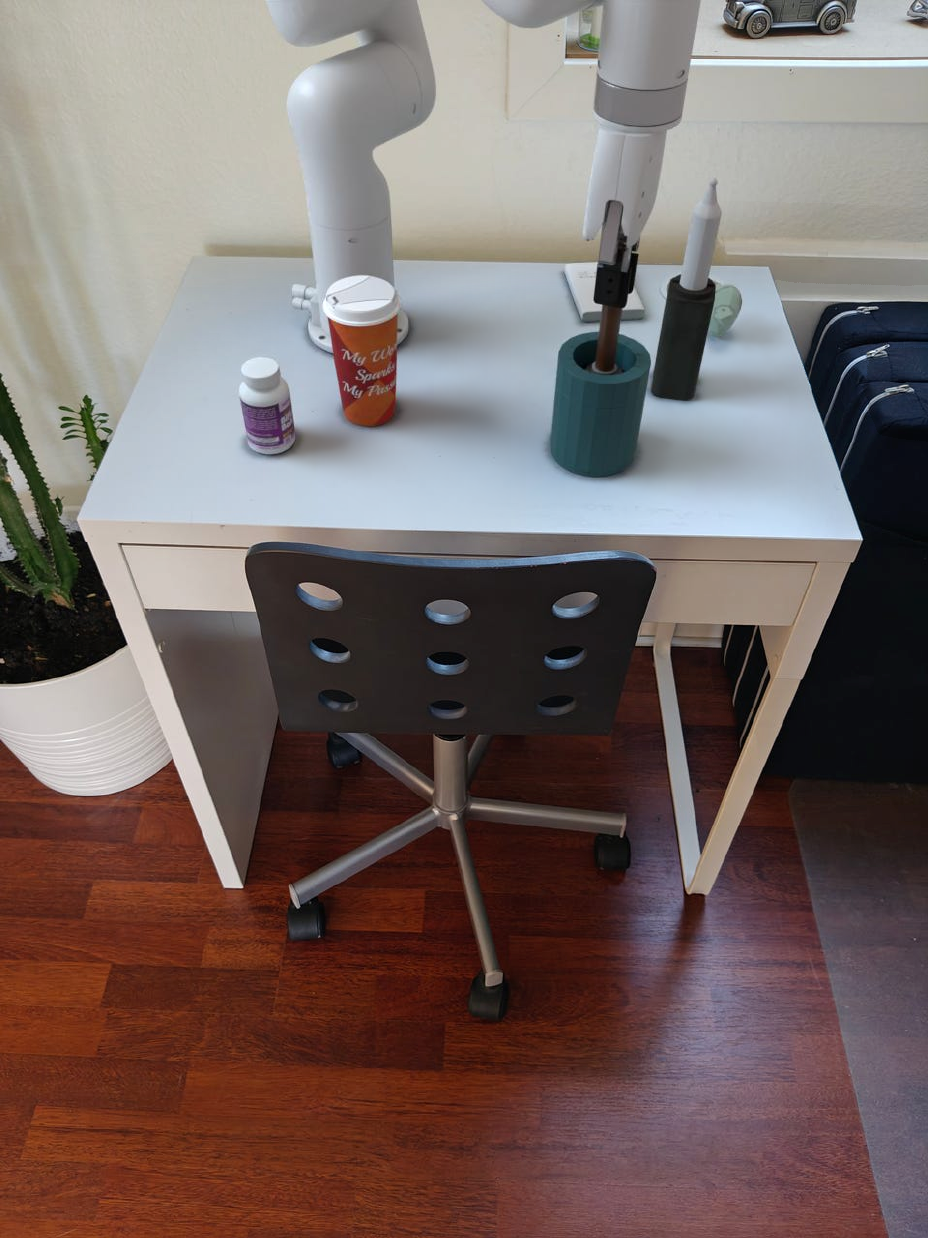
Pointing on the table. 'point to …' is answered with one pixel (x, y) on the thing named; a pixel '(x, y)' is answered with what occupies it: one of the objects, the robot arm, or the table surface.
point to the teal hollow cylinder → (598, 407)
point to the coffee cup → (364, 346)
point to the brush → (607, 341)
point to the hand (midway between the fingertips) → (613, 295)
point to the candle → (688, 307)
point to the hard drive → (583, 293)
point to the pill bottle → (266, 406)
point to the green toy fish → (725, 309)
